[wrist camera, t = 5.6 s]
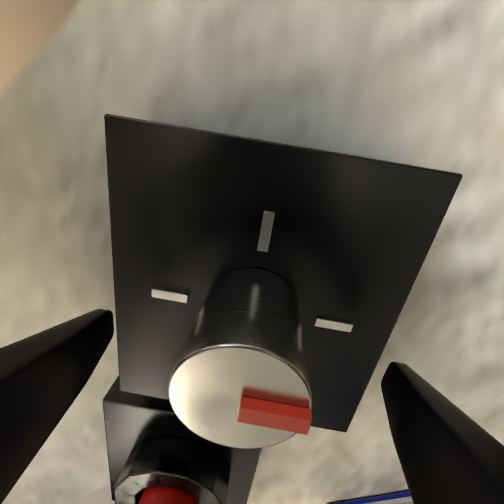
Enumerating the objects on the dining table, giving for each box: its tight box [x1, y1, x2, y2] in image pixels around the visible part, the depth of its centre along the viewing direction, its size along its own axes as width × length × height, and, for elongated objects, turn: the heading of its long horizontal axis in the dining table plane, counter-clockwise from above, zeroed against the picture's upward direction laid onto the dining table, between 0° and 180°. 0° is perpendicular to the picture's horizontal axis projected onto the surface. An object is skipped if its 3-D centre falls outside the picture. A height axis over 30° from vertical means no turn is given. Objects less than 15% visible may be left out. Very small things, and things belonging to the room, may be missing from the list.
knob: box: [168, 268, 312, 449], centre depth 8 cm, size 4×4×4 cm
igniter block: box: [103, 376, 261, 504], centre depth 16 cm, size 10×9×4 cm
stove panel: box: [104, 114, 462, 432], centre depth 12 cm, size 12×11×3 cm
